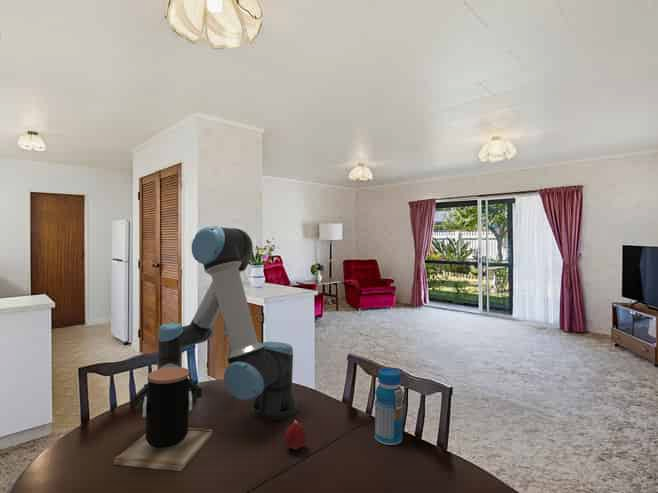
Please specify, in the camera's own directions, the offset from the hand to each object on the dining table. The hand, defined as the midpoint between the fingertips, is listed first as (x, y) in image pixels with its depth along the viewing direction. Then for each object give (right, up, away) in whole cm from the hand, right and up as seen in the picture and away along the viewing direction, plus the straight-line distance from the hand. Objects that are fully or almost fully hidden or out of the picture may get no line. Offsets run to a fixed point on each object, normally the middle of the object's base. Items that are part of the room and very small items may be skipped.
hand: (168, 408), depth 96 cm
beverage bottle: (+60, -14, +12) cm, 63 cm away
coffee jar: (-2, -10, +4) cm, 11 cm away
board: (-2, -13, +4) cm, 13 cm away
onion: (+33, -14, +5) cm, 36 cm away
